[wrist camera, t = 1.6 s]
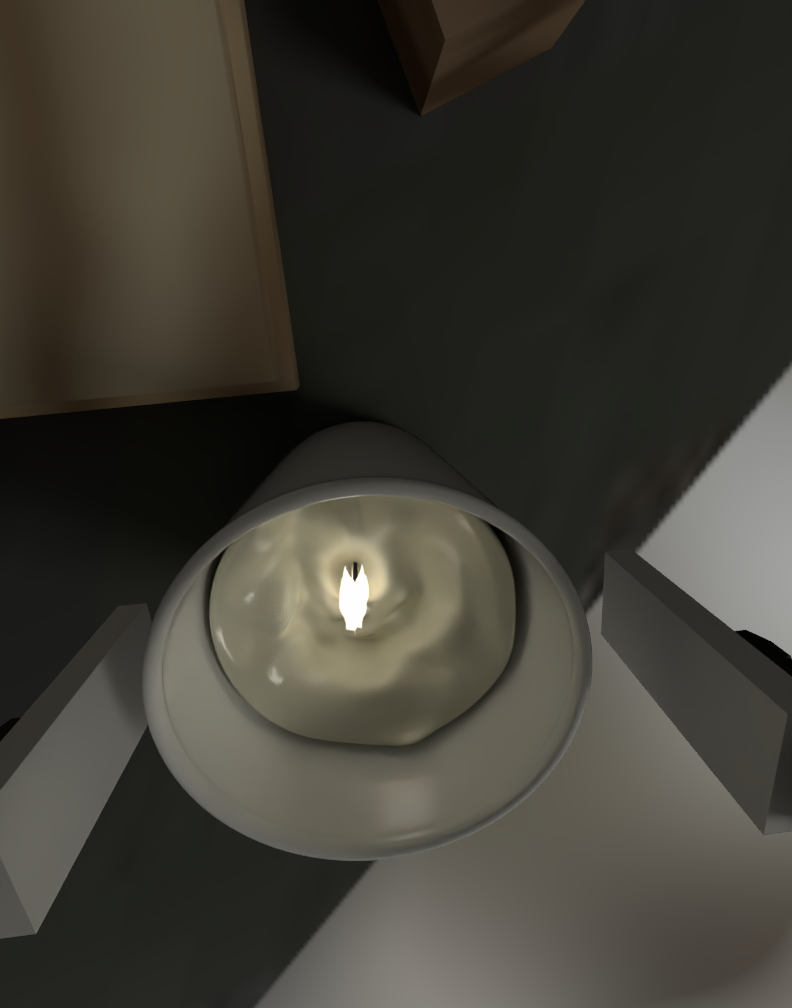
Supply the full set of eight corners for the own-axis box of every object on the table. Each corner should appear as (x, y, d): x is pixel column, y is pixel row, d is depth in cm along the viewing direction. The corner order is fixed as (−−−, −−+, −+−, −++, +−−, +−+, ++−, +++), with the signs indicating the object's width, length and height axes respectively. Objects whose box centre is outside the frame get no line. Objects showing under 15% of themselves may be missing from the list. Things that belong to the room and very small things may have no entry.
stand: (-64, 421, 20) (-134, 436, 17) (-242, -48, 15) (-377, -135, 12) (299, 386, 20) (291, 394, 18) (234, -71, 16) (209, -158, 13)
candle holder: (227, 414, 21) (78, 514, 9) (467, 389, 21) (603, 454, 10) (269, 625, 24) (196, 891, 12) (477, 598, 24) (588, 832, 13)
